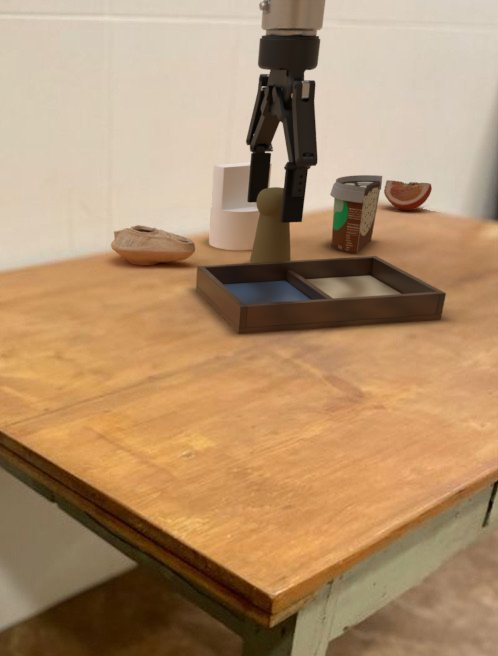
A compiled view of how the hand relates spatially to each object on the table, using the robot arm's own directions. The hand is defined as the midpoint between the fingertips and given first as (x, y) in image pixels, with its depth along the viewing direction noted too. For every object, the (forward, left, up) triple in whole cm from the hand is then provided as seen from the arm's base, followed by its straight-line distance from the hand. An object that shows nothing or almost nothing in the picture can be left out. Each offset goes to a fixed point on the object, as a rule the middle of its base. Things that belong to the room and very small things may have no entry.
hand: (273, 211), depth 113 cm
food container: (-16, -10, -8) cm, 21 cm away
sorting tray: (+1, +18, -8) cm, 20 cm away
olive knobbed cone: (0, 0, -8) cm, 8 cm away
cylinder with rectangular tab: (0, -15, -8) cm, 17 cm away
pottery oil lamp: (+16, -6, -8) cm, 19 cm away
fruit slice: (-40, -36, -8) cm, 54 cm away
